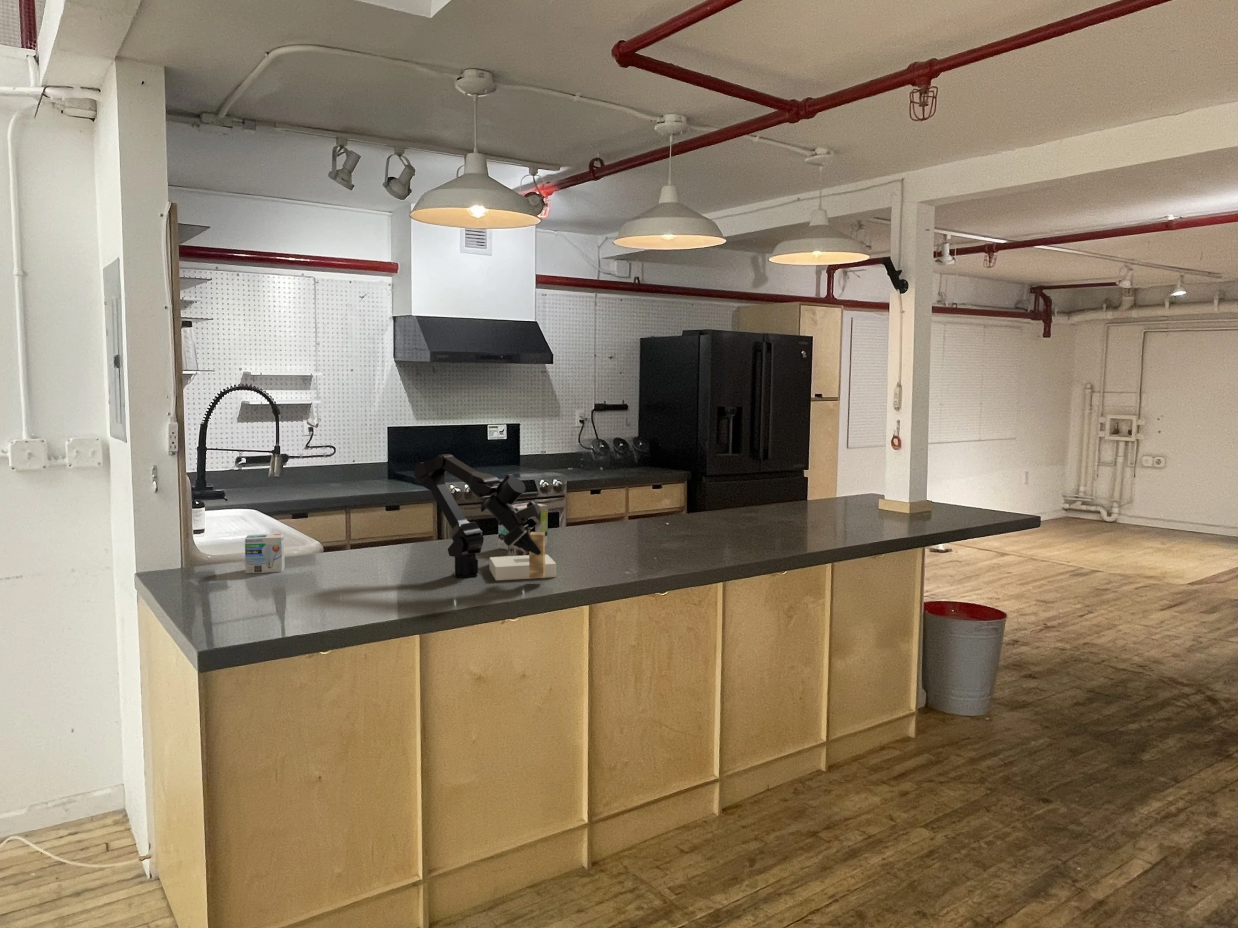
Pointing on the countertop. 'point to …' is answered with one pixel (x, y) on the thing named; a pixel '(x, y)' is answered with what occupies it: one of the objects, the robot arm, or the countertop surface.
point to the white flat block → (517, 567)
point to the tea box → (543, 508)
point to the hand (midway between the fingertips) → (541, 552)
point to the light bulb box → (264, 553)
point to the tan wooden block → (537, 556)
